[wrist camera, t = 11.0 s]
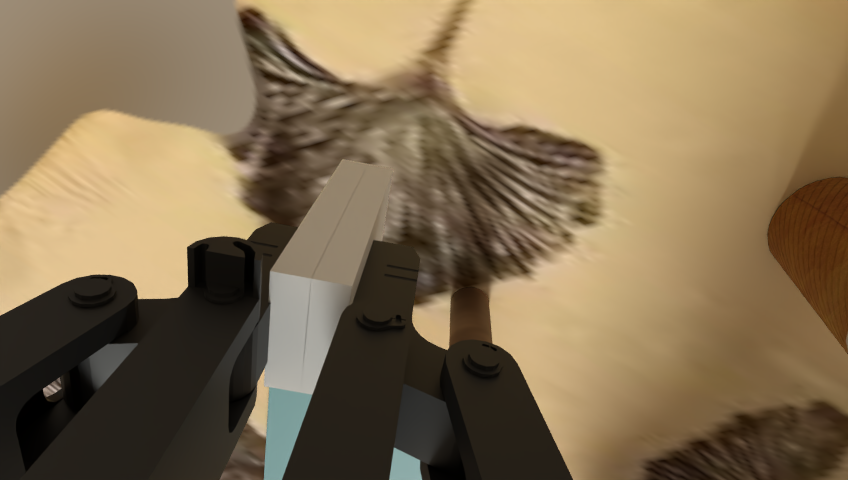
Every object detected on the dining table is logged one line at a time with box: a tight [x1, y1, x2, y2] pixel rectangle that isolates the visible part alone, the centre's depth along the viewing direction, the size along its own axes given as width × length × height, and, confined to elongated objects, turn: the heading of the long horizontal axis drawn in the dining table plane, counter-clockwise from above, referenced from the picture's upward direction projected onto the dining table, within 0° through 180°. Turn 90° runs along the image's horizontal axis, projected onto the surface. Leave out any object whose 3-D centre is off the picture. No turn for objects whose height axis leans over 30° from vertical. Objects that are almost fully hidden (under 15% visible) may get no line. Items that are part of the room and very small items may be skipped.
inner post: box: [449, 287, 492, 347], centre depth 33 cm, size 3×3×9 cm
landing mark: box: [264, 387, 422, 480], centre depth 43 cm, size 14×14×1 cm
